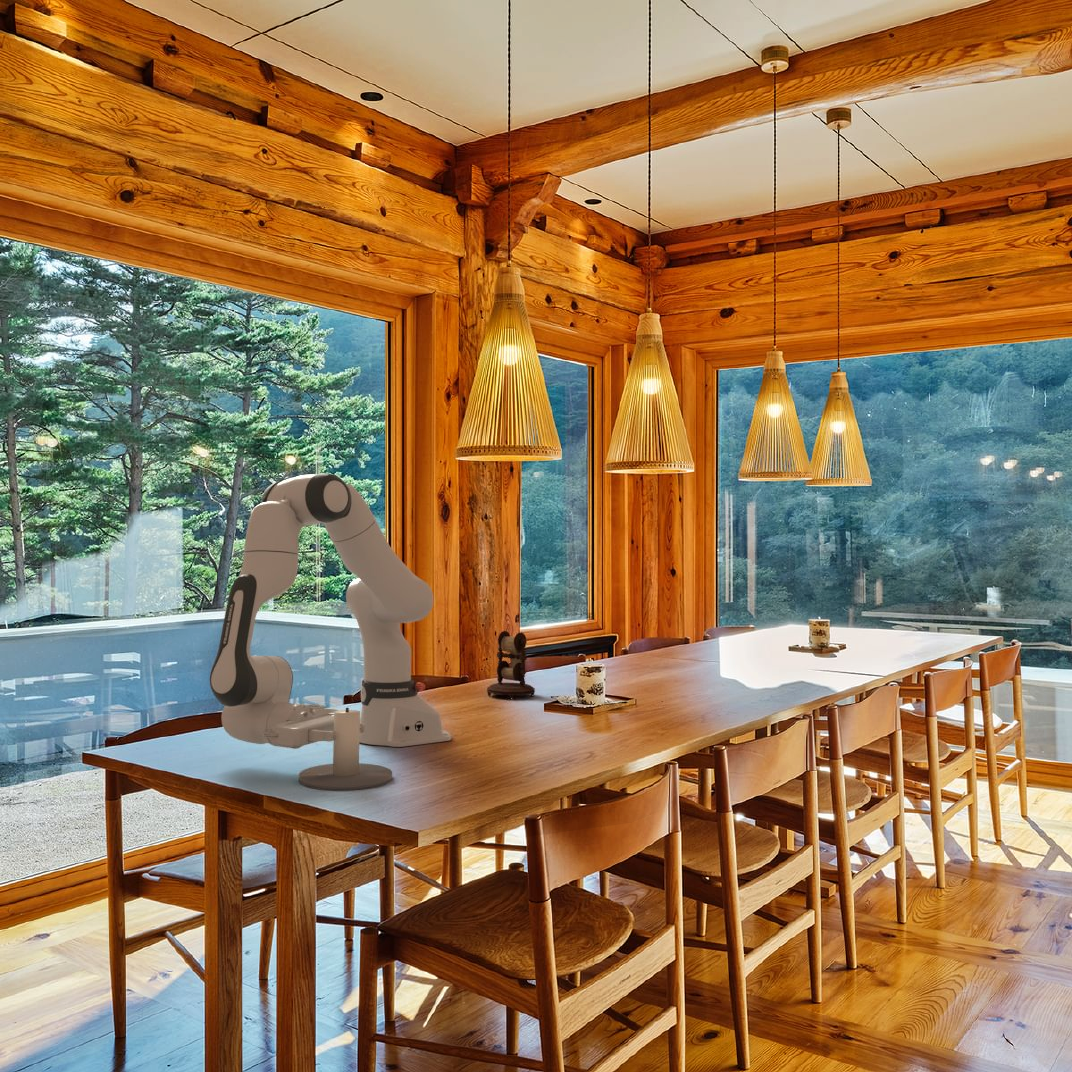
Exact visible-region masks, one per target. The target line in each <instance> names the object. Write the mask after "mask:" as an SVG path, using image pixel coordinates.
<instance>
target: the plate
mask: <svg viewBox="0 0 1072 1072" xmlns="http://www.w3.org/2000/svg"><path fill="white" fill-rule="evenodd" d="M391 781H393V770H391V769H390V768H388V767H385V766H384V765H378V764H373V763H362V762H361V763H360V762H359V773H358V774H357V775H352V776H337V775H334V774H333V763H328V764H321V765H316V766H311V767H307V768H305V769H303V770H301V771H300V772H299V774H298V783H299V784H300V785H302V786H304V787H306V788H311V789H314V790H323V791H344V792H345V791H346V792H347V791H358V790H359V791H360V790H361V791H362V790H367V789H369V790H370V789H373V788H378V787H382V786H384V785H387V784H389V783H391Z"/></svg>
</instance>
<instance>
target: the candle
mask: <svg viewBox="0 0 1072 1072" xmlns="http://www.w3.org/2000/svg"><path fill="white" fill-rule="evenodd" d="M337 710H338V711H335V712H334V731H335V732H336V740H334V741H333V748H332V749H333V753H332V764H333V774H334V775H337V776H352V775H357V774H358V773H359V763H360V742H359V739H360V718H361V711H360V710H358V709H357V710H356V709H350V707H345V709H337Z"/></svg>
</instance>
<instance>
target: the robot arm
mask: <svg viewBox="0 0 1072 1072" xmlns="http://www.w3.org/2000/svg"><path fill="white" fill-rule="evenodd" d="M318 524H322V525H323V526H324V527H325V529H326V532H327V534H328V536H329V538H330V541H331V542H332V544H333V546H334V547H335V550H336V552H337V553H338V555H339V557H340V559H341V561H342V563H343V565H344V567H345V568H346V570H348V571H349V572H350V573H352V574H353V575H355V576H356V578H355V579H352V581H351V582H350V583H349V585H348V586H347V589H346V592H345V599H346V600H345V601H346V604H347V607H348V609H349V610H350V611H351V613H352V614H353V616H354V617H355V619H356V621H357V624H358V627H359V631H360V635H361V641H362V648H363V679H361V687H360V701H361V704H362V705H361V711H360V739H359V744H360V743H361V744H366V745H373V746H387V747H392V748H393V747H394V748H400V747H409V746H417V745H425V744H426V745H427V744H432V743H433V744H434V743H440V742H448V741H451V740H452V735H451V733H450V732H449V731H447V730H444V729H443V724H442V718H441V714H440V713H439V711H438V710H437V709H435V708H434V707H433V706H432V705H430V704H429V702H427V701H426V700H424V699H423V698H421V696H419V695H418V694H419V692H424V691H425V690H426V685H425V684H424V682H421V681H420V682H419V681H418V682H416V681H414V680H413V679H412V675H411V674H412V648H411V645H410V643H409V641H407V639H406V638H405V637H404V634H403V632H402V629H401V626H400V623H401V624H409V623H415V622H418V621H421V620H423V619H425V618H427V616H428V615H429V614H431V611H432V609H433V605H434V594H433V591H432V588H431V587H430V585H429V583H427V582H426V581H425V580H423V579H421V578H419V576H417V575H416V574H414V573H413V572H412V570H410V568H409V567H408V566H407V565H406V564H405V563H404V562H403V561H402V560H401V559H400V557H399V555H397V554H396V553H395V551H394V550H393V549H392V547H391V546H390V544H389V542H388V541H387V539H386V537H385V535H384V534H383V531H382V529H381V528H380V526H379V525H380V524H378V521H377V520H376V518H375V516H374V514H373V512H372V510H371V508H370V507H369V505H368V504H367V502H366V500H365V499H364V498H363V496H362V495H361V493H360V492H359V491H358V490H357V489H356V488H355V487H354V486H353V485H352V484H350V483H347V482H346V483H345V481H344V480H343V479H342V478H340V477H339V476H338V475H335V474H332V473H328V472H327V473H325V472H321V473H317V474H302V475H298V476H295V477H291V478H288V479H281V480H278V481H276V482H273V483H272V484H271V485H269V486H268V487H267V488H266V489H264V492H263V494H262V496H261V499H260V503H259V504H257V505H256V506H255V507H253V508H252V511H251V512H250V516H249V520H248V524H247V528H246V535H245V542H244V551H243V553H244V554H243V560H242V566H241V569H240V572H239V575H238V577H237V578H235V580H234V581H233V583H232V584H231V586H230V590H229V594H228V598H227V604H226V607H225V608H226V609H225V612H224V618H223V623H222V628H221V636H220V640H219V646H218V649H217V650H218V651H217V654H216V656H215V660H214V662H213V665H212V668H211V670H210V675H209V687H210V690H211V692H212V694H213V696H214V698H215V699H216V700H217V702H219V703H221V704H222V705H224V707H223V709H222V712H221V725H222V727H223V729H224V731H225V732H226V733H227V734H228V735H229V736H230V737H232V738H234V739H236V740H238V741H241V742H245V743H249V744H250V743H251V744H256V745H265V744H269V745H271V746H274V747H279V748H287V749H300V748H301V747H303V746H304V747H305V746H307V745H311V744H313V743H318V742H328V743H329V742H334V740H336V732H335V731H334V712H335V711H338V710H339V709H335V708H325V705H322V704H301V703H290V699H291V695H292V690H293V684H294V673H293V669H292V667H291V665H290V664H289V662H288V661H287V660H286V659H285V658H283V657H282V656H280V655H251V645H252V639H253V633H254V629H255V623H256V618H257V615H258V612H259V610H260V608H261V607H262V606H263V605H265V604H266V603H267V602H269V601H270V600H272V599H274V598H277V597H279V596H281V595H283V594H284V593H285V592H287V591H288V590H290V588H291V587H292V586H293V585H294V583H295V581H296V578H297V574H298V568H299V546H300V545H299V536H300V532H301V531H302V528H305V527H311V526H314V525H318ZM418 691H419V692H418Z"/></svg>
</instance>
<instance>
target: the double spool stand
mask: <svg viewBox="0 0 1072 1072" xmlns="http://www.w3.org/2000/svg"><path fill="white" fill-rule="evenodd" d="M527 642H528V641H527V637H526V635H525V634H524V633H523V632H522V631H521V632H518V633H516V634H515V636H511V634H510V632H509V631H507V630H503V631H501V632H500V633H499V634H498V637H497V644H498V647H497V650H498V651H497V653H496V657H497V659H498V660H497V661H498V662H497V667H496V674H497V683H492V684H490V685H489V686H487V687H486V692H487V696H488V697H490V696H491V694H493V695H500V696H509V698H513V699H514V697H515V696H526V695H530V696H531V695H534V694H535V692H536V688H535V687H534V686H532V685H530V684H528V683H526V679H525V678H526V674H527V671H526V660H527V659H528V656H527V654H526V645H527ZM504 652H505V653H504ZM506 652H507V653H506ZM508 652H509V653H508ZM503 658H504V659H506V658H508V659H509V661H510V663H509V662H508V661H507V660H503ZM503 680H507V681H515V682H503ZM534 696H535V695H534Z"/></svg>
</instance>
